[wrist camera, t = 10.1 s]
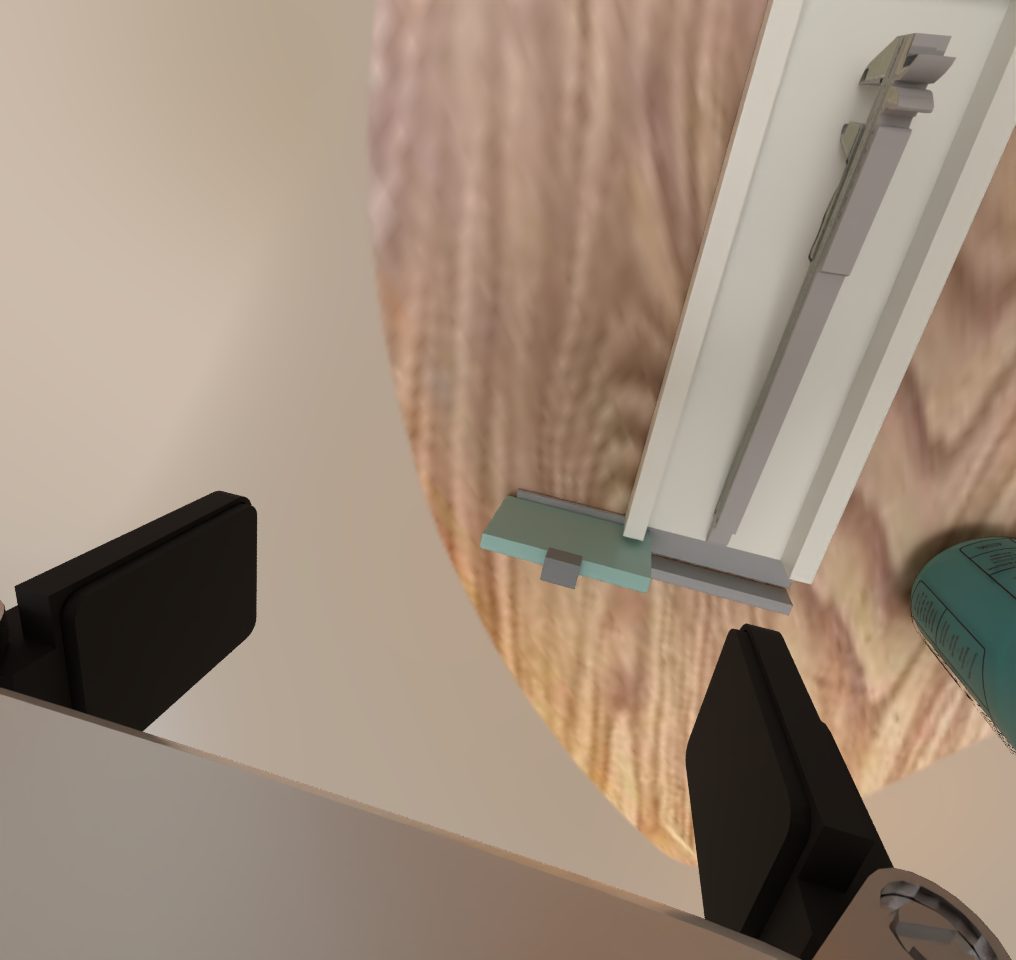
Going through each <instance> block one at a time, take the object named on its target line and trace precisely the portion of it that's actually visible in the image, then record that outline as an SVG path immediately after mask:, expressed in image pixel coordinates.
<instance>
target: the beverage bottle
mask: <svg viewBox="0 0 1016 960" xmlns="http://www.w3.org/2000/svg"><path fill="white" fill-rule="evenodd" d="M911 607H912V611H913V616H914V617H913V616H912V613H911V617H913V618H914V620H915V622H916V624H917V626H918V628H919V629H920V631H921V633H922V634H923V635H924V636H925V638H926V639H927V640H928V641H929V643H930V644H931V645H932V646H933V648H934V649H935V650H936V652H937V653H938V654H939V655H940V656H941V658H942V659H943V660H944V661H945V664H946V665H948V666H949V668H950V669H951V670H952V671H953V673H954V674H955V675H956V676H957V678H958V679H959V680H960V681H961V683H962V684H963V685H964V686H965V688H966V689H967V690H968V691H969V693H970V694H971V695H972V696H973V698H974V699H975V700H976V702H977V703H978V704H979V705H978V704H977V705H978V706H980V707H981V708H982V709H983V710H984V712H985V713H986V714H987V715H988V716H987V715H986V716H987V717H989V718H990V719H991V720H992V722H993V723H994V725H993V726H995V725H996V726H995V727H997V728H998V729H999V730H1000V732H1001V733H1000V732H999V731H998V730H996V729H997V728H996V729H995V730H994V732H995V731H997V732H998V733H1000V734H1001V735H1002V734H1003V736H1005V738H1006V739H1007V740H1008V742H1009V743H1010V744H1011V745H1012V748H1014V749H1015V750H1016V538H1006V537H987V538H979V539H973V540H969V541H965V542H962V543H959V544H956V545H954V546H952V547H950V548H948V549H946V550H944V551H942V552H941V553H939V554H938V555H936V556H935V557H934V558H932V559H931V560H930V561H929V562H928V563H927V564H926V565H925V566H924V567H923V568H922V570H921V571H920V572H919V574H918V576H917V577H916V579H915V582H914V584H913V588H912V591H911ZM912 622H913V620H912ZM914 627H915V626H914ZM918 632H919V631H918ZM918 632H917V633H918ZM920 636H921V635H920ZM921 638H922V637H921ZM922 640H923V639H922ZM924 640H925V639H924ZM924 640H923V641H924ZM925 642H926V641H925ZM925 644H927V643H925ZM927 646H928V647H929V649H930V650H931V648H930V646H929V645H927ZM934 649H933V650H934ZM931 651H932V650H931ZM932 652H933V654H934V655H935V652H934V651H932ZM936 655H937V654H936ZM936 655H935V656H936ZM939 655H937V656H939ZM937 656H936V657H937ZM937 659H938V657H937ZM938 660H939V659H938ZM939 661H940V660H939ZM940 663H941V664H942V662H941V661H940ZM942 665H943V664H942ZM943 666H944V665H943ZM944 668H945V669H946V667H945V666H944ZM946 670H947V669H946ZM947 671H948V670H947ZM948 673H949V671H948ZM949 674H950V673H949ZM950 675H951V674H950ZM951 677H952V678H953V676H952V675H951ZM953 679H954V678H953ZM955 679H956V678H955ZM955 679H954V680H955ZM955 682H956V683H957V680H955ZM957 684H958V683H957ZM958 685H959V684H958ZM959 687H960V686H959ZM961 690H962V689H961ZM965 693H966V692H965ZM966 694H967V693H966ZM967 697H968V698H969V699H971V698H970V697H969V696H968V694H967ZM974 705H975V704H974ZM975 707H976V706H975ZM982 713H983V712H982ZM983 714H984V713H983ZM981 715H982V714H981ZM984 715H985V714H984ZM983 718H984V717H983ZM985 718H986V717H985ZM985 718H984V719H985ZM988 720H989V719H988ZM988 720H987V721H988ZM991 720H989V721H988V722H989V723H990V722H991ZM988 722H987V723H988ZM989 725H990V724H989ZM991 725H992V724H991ZM991 727H992V726H991ZM992 729H993V728H992ZM997 732H996V733H997ZM1000 734H998V735H1000ZM1003 742H1004V741H1003ZM1005 745H1006V744H1005ZM1008 746H1009V745H1008ZM1014 752H1015V751H1014Z"/></svg>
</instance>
